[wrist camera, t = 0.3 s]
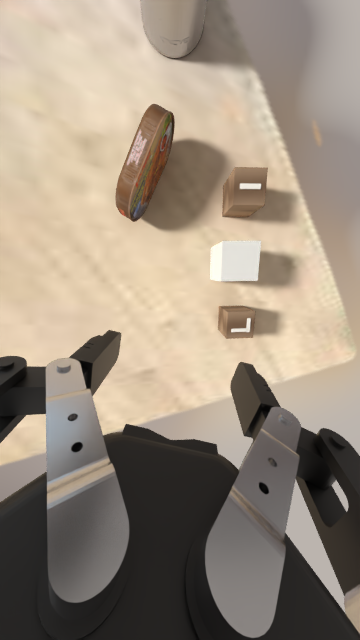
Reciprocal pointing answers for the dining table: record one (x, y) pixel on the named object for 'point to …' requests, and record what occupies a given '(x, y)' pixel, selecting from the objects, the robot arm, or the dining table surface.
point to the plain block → (235, 261)
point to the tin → (145, 162)
